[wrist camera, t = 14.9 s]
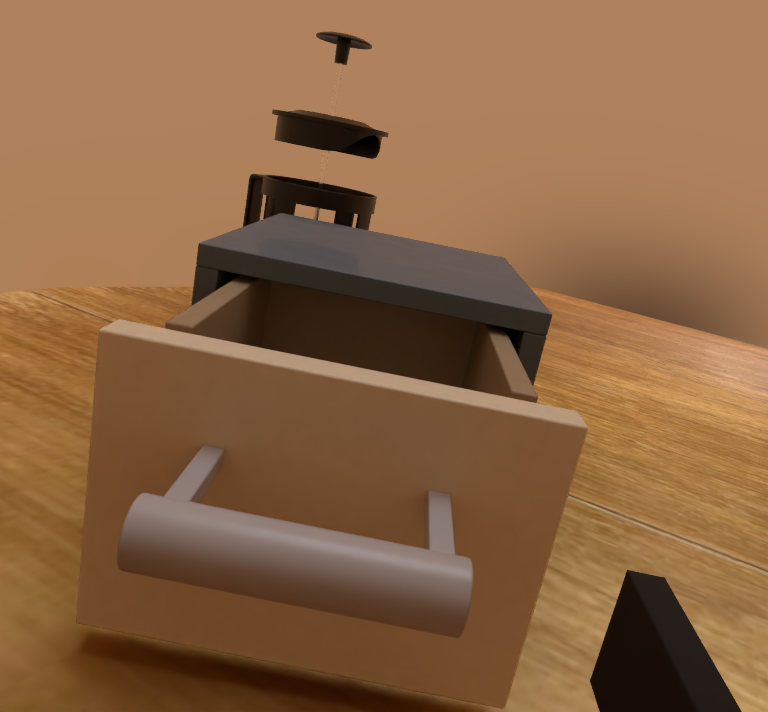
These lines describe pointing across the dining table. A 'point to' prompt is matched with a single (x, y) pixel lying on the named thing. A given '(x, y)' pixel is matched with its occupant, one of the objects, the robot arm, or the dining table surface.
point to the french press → (327, 137)
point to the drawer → (324, 488)
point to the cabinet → (380, 274)
